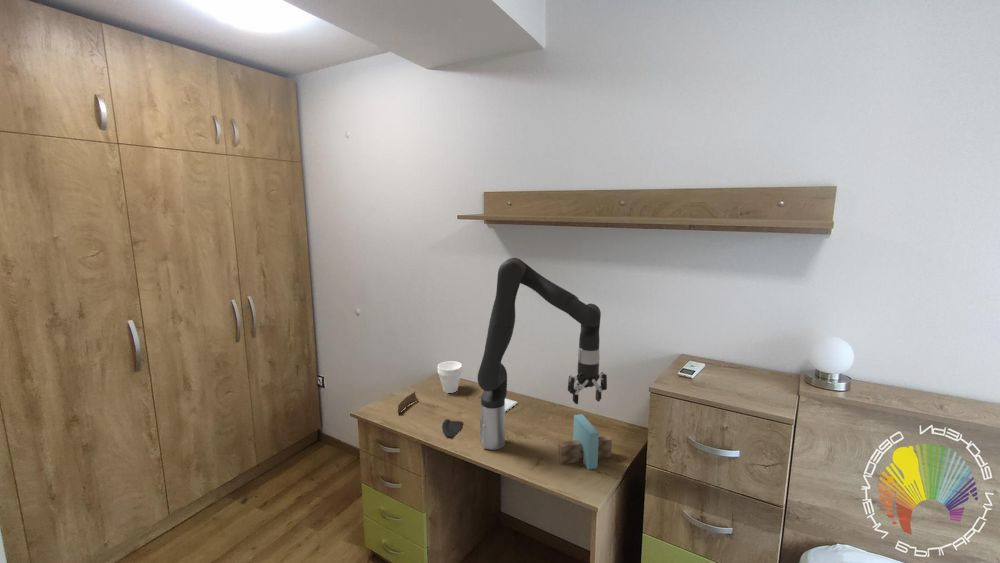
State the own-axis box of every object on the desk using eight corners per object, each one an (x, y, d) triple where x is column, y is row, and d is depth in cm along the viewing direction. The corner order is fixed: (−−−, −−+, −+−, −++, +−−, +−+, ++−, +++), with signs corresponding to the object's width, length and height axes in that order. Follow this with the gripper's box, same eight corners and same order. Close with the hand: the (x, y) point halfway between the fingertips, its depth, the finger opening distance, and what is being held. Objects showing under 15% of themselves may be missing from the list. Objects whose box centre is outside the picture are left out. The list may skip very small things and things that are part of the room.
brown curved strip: (400, 415, 199) (400, 405, 198) (396, 415, 200) (396, 404, 199) (418, 401, 213) (418, 391, 212) (415, 400, 214) (414, 390, 213)
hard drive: (503, 412, 200) (517, 401, 210) (488, 407, 204) (503, 397, 214) (503, 415, 200) (517, 404, 210) (488, 410, 205) (503, 400, 215)
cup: (454, 383, 233) (453, 359, 230) (467, 391, 223) (466, 366, 221) (433, 390, 225) (432, 364, 223) (446, 398, 216) (445, 372, 213)
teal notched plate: (597, 468, 160) (598, 432, 157) (588, 469, 159) (589, 433, 156) (581, 447, 173) (582, 414, 170) (572, 448, 172) (573, 415, 170)
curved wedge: (437, 439, 181) (436, 435, 180) (444, 422, 194) (444, 419, 194) (457, 440, 180) (456, 436, 179) (463, 423, 193) (463, 420, 193)
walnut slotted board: (561, 464, 162) (561, 446, 161) (558, 459, 165) (558, 442, 164) (611, 456, 167) (611, 439, 166) (607, 452, 170) (608, 435, 168)
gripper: (601, 354, 164) (600, 395, 167) (565, 357, 161) (564, 399, 164) (611, 361, 157) (609, 404, 160) (574, 365, 153) (572, 408, 157)
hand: (586, 401), depth 162 cm, fingers open, 8 cm apart
